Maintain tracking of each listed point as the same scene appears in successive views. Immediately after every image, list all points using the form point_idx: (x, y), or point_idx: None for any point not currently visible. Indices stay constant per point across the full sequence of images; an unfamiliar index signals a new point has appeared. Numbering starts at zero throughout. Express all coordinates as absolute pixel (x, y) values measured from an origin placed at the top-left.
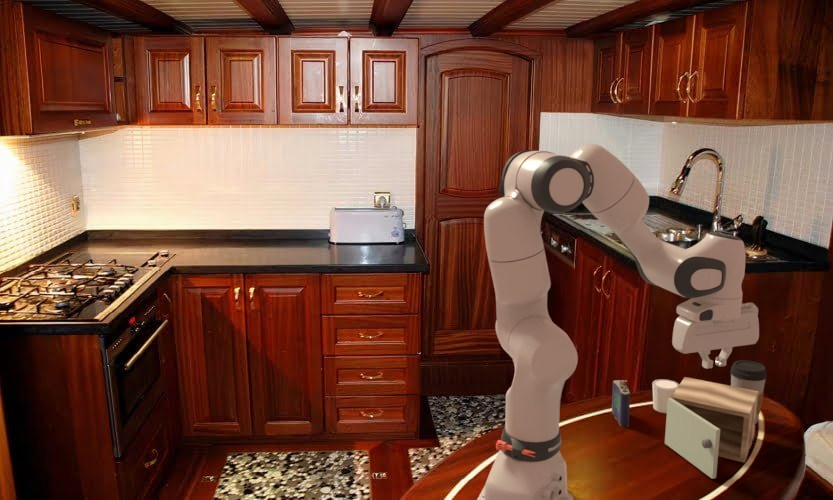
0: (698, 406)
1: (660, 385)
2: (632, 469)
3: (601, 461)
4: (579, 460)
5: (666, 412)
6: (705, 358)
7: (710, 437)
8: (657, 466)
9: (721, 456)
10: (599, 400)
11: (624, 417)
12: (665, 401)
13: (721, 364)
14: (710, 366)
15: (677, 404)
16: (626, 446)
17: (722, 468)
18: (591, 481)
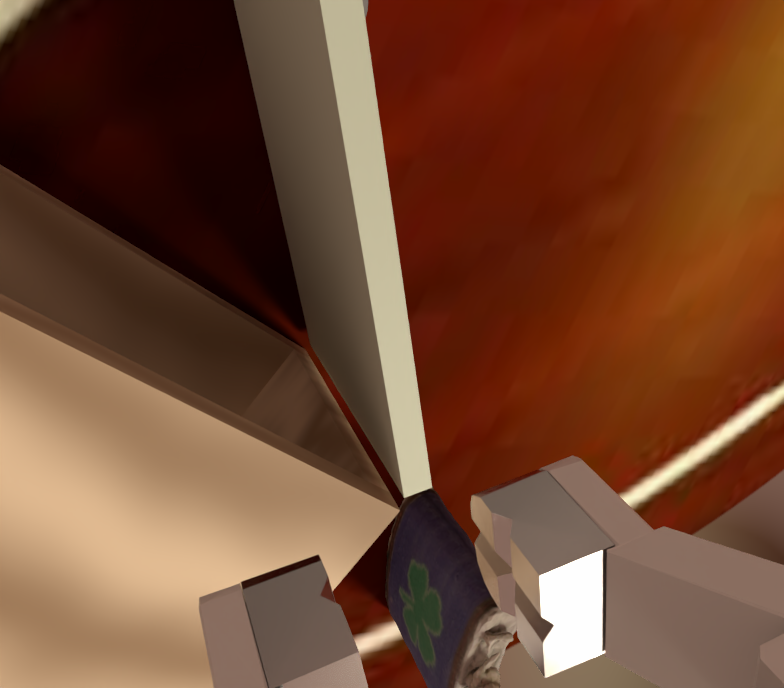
0: (241, 418)
1: None
2: (577, 117)
3: (657, 200)
4: (726, 215)
5: None
6: (742, 566)
7: None
8: (457, 132)
9: (59, 200)
10: (420, 682)
11: (450, 516)
12: None
13: (311, 580)
14: (533, 488)
15: (416, 404)
16: (500, 324)
17: (110, 65)
18: (777, 36)
